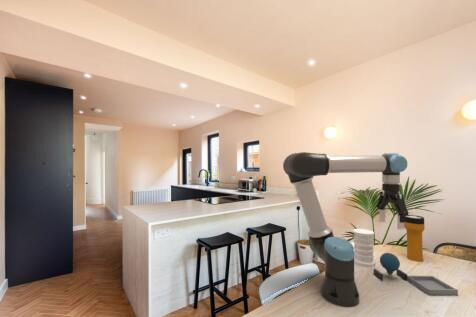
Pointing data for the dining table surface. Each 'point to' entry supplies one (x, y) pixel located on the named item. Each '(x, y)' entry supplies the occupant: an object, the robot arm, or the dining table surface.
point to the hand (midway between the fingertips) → (391, 225)
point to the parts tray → (432, 286)
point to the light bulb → (389, 263)
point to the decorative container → (363, 247)
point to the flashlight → (414, 236)
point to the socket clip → (398, 272)
